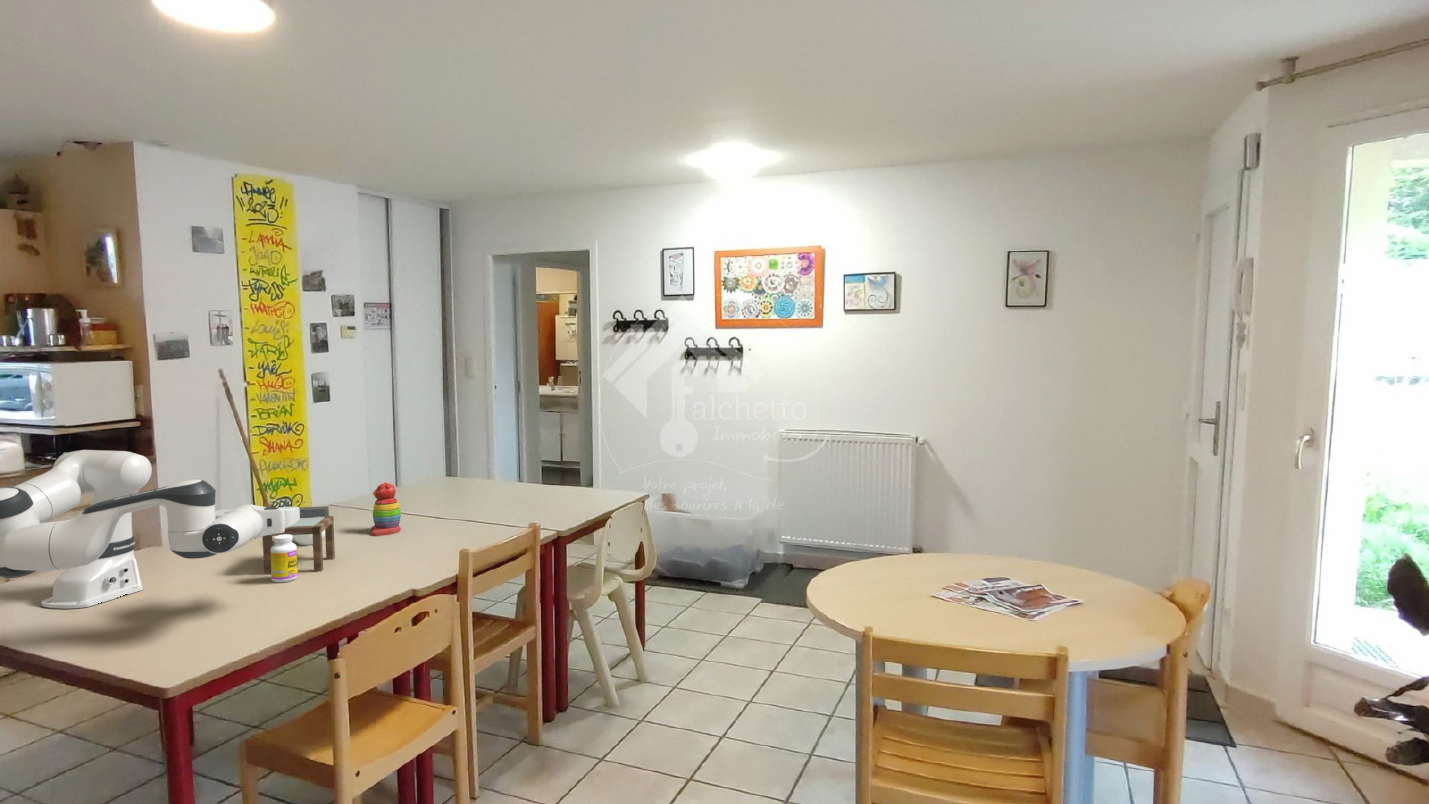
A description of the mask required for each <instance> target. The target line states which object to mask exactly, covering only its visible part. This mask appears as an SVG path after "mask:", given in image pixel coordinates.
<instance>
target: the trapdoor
mask: <svg viewBox="0 0 1429 804" xmlns="http://www.w3.org/2000/svg"><path fill="white" fill-rule="evenodd" d="M298 507H299V506H298ZM329 509H330V508H329V506H327V505H326V506H302V507H301V506H300V507H299V510H300V519H299V521H298V522H296V523H295V524H294V525H292V526H290V527H303V526H315V525H316V524H318V523H319V522H320V521H321V520H323V519H324V518H325V517H326V516H329V515H330V513H329V511H330V510H329Z"/></svg>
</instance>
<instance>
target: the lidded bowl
mask: <svg viewBox="0 0 1429 804" xmlns="http://www.w3.org/2000/svg"><path fill="white" fill-rule="evenodd" d="M329 516H331V515H330V514H329ZM292 536H293V540H292V541H294V542H296V543H297V545H299V546H313V534H307V535H292ZM325 539H326V538H325V530H324V531H323V532H322V541H323V540H325Z"/></svg>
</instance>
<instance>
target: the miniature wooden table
mask: <svg viewBox="0 0 1429 804" xmlns="http://www.w3.org/2000/svg"><path fill="white" fill-rule="evenodd" d="M334 518H335V517H334V515H330V516H326V517H325V518H324V519H323V520H321V521H320V522H319V523H318V524H316V525H315V526H303V527H288V528H285V531H284V532H283V533H279V534H273V535H267V536H262V552H263V553H262V555H263V572H264V573H263V574H264V575H271V547H272V546H274V543H273V542H274V537H275V536H278V535H284V534H290V535H307V534H313V545H312V552H313V553H312V554H313V555H312V556H313V573H317V572H318V571H320V572H322V571H323V570H324V557H323V556H324V555H323V540H322V532H323V531H324V530H325V538H324V539H325V558H326V559H325V560H327V561H328V560H334V559H335V558H336V554H335V553H336V551H335V549H336V548H335V527H334V526H335V525H334V522H335V520H334ZM318 573H319V572H318Z"/></svg>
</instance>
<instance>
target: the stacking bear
mask: <svg viewBox="0 0 1429 804" xmlns="http://www.w3.org/2000/svg"><path fill="white" fill-rule="evenodd" d="M396 491H397V490H396V487H395V485H393V484H392V483H389V482H386V481H385V482H383V483H380V484H379V485H377V487H376V489H375V490H374V491H373V493H372V494H373V496H374V498H376V500H375V501H374V505H373V510H372V519H373V524H374V525H373V526H371V528H370V531H371V532H370V535H371V536H372V537H380V536H381V535H382V536H387V535H393V534H397V533H400V532H401V531H402V529H401V525H400V522H401V516H402V511H401V507H400V503H399V501H398V500H397V499H396V498H395V497H396ZM382 536H381V537H382Z"/></svg>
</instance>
